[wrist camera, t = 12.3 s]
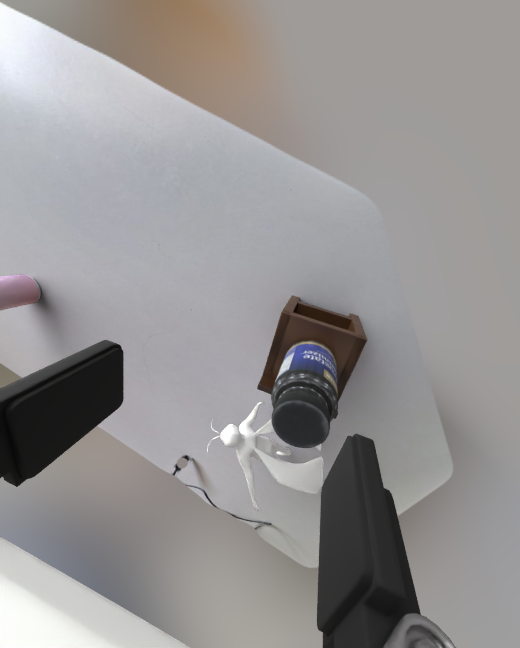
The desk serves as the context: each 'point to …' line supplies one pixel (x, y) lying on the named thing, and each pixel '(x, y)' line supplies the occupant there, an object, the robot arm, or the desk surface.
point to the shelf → (315, 326)
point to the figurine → (271, 457)
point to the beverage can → (18, 291)
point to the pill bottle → (305, 395)
